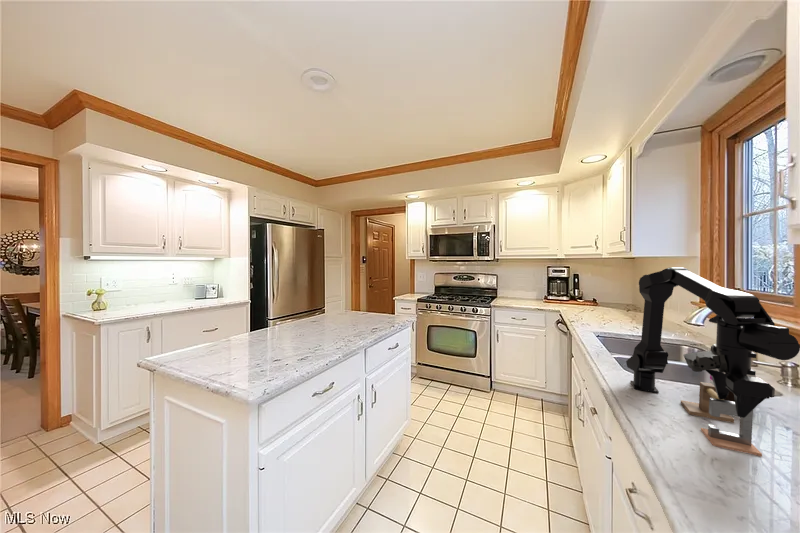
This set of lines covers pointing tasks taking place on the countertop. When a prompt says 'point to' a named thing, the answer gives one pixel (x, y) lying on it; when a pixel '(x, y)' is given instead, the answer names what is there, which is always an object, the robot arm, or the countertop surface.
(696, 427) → the countertop surface
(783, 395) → the countertop surface
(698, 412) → the stand
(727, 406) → the link
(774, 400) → the countertop surface
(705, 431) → the mat
